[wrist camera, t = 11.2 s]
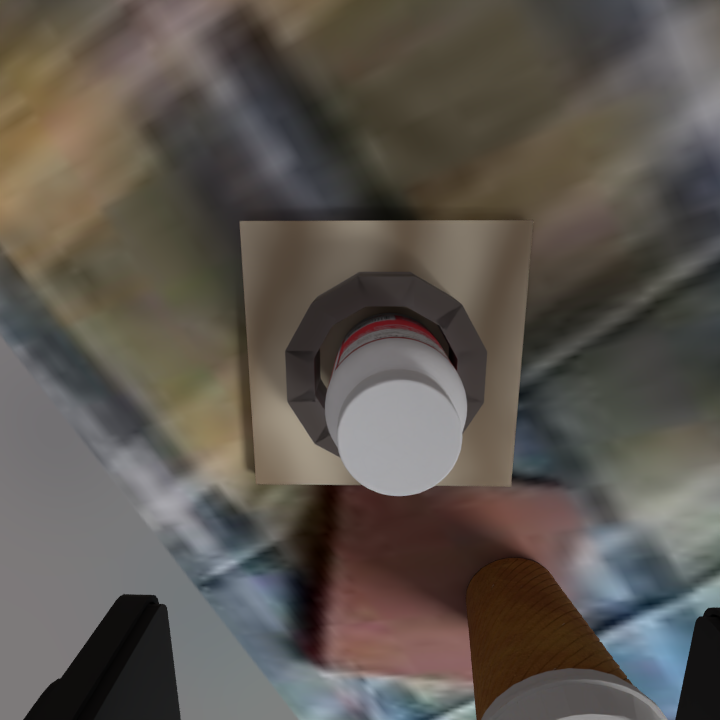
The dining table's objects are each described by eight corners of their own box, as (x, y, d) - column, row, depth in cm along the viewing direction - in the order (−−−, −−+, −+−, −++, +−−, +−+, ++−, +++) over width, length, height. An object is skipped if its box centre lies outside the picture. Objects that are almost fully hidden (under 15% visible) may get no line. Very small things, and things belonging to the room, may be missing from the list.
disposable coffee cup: (415, 611, 34) (437, 806, 23) (498, 511, 32) (570, 670, 20) (523, 673, 35) (597, 889, 24) (610, 580, 33) (738, 768, 22)
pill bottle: (409, 429, 30) (430, 540, 19) (319, 383, 29) (287, 472, 18) (461, 340, 28) (516, 407, 17) (367, 291, 28) (364, 328, 17)
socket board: (527, 220, 27) (553, 218, 23) (506, 478, 31) (525, 513, 28) (244, 221, 28) (223, 219, 24) (259, 476, 32) (244, 510, 28)
